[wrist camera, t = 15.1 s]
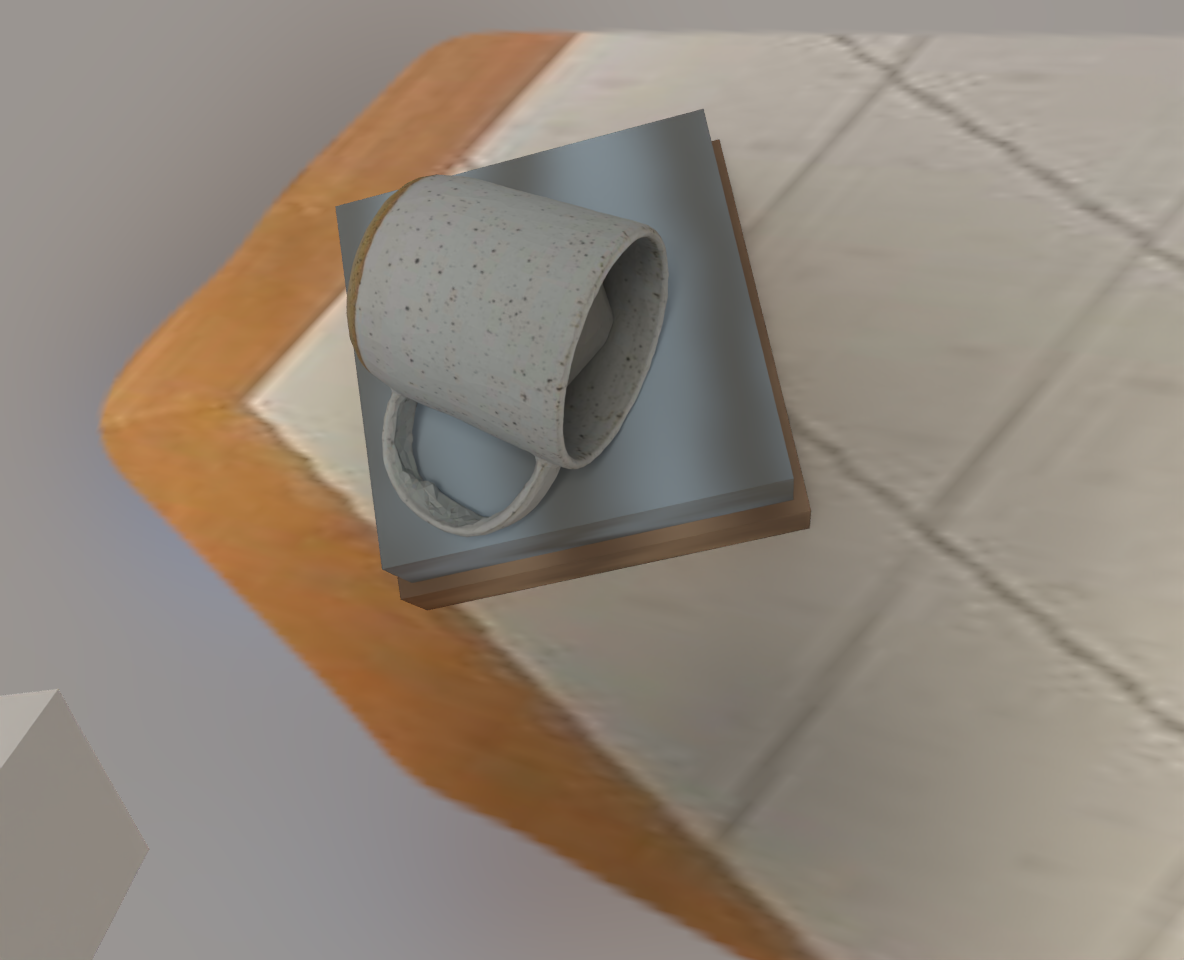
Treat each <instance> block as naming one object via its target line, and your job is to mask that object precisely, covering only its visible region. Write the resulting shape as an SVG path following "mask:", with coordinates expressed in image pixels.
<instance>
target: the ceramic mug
mask: <svg viewBox="0 0 1184 960" xmlns="http://www.w3.org/2000/svg"><path fill="white" fill-rule="evenodd" d="M668 277H669V272H668V261H667V254H666V247H665V244H664V242H663V240H662V238H661V236H660V235H659V234H658V232H657V231H656V230H654V229H653V228H652V227H650V226H649V225H646V224H643V223H640V222H637V221H633V220H629V219H625V218H621V217H617V216H613V215H610V214H605V213H601V212H597V211H594V210H591V209H587V208H584V207H580V206H576V205H573V204H569V203H565V202H561V201H557V200H553V199H550V198H547V197H543V196H538V195H534V194H530V193H527V192H523V191H519V190H515V189H511V188H507V187H504V186H501V185H498V184H494V183H491V182H487V181H484V180H480V179H476V178H471V177H465V176H447V175H432V176H426V177H421V178H418V179H415V180H413V181H411V182H409V183H407V184H405V185H404V186H403V187H402V188H400V189H399V190H398V191H396V192H395V193H394V194H393V195H391V196H390V197H389V198H388V199H387V200H386V201H385V202H384V203H383V205H382V206H381V208H380V209H379V211H378V212H377V214H376V215H375V217H374V218H373V220H372V221H371V223H370V224H369V226H368V227H367V229H366V231H365V233H364V236H363V238H362V240H361V242H360V245H359V247H358V249H357V252H356V255H355V258H354V262H353V265H352V270H351V275H350V280H349V286H348V292H347V320H348V327H349V335H350V339H351V342H352V344H353V347H354V349H355V352H356V354H357V357H358V359H359V360H360V362H361V363H362V365H363V366H364V367H365V368H366V369H367V370H368V371H369V372H370V373H372V374H373V375H374V376H376V377H377V378H378V379H380V380H381V381H382V382H383V383H385V384H386V385H387V386H389V387H390V388H391V390H392V395H391V398H390V400H389V402H388V403H387V409H386V413H385V416H384V425H383V431H382V447H383V460H384V465H385V468H386V471H387V473H388V476H389V478H390V481H391V483H392V485H393V487H394V488H395V490H396V492H397V494H398V495H399V497H400V499H401V500H402V501H403V502H404V503H405V504H406V505H407V506H408V507H409V508H410V509H411V510H412V511H413V512H414V513H415V514H416V515H417V516H418V517H420V518H421V519H423V520H424V521H426V522H428V523H430V524H431V525H433V526H435V527H437V528H439V529H440V530H442V531H444V532H448V533H452V534H455V535H459V536H464V537H471V536H479V535H487V534H489V533H492V532H494V531H497V530H500V529H502V528H505V527H507V526H510V525H512V524H513V523H515V522H517V521H519V520H520V519H522V518H523V517H525V516H526V515H527V514H528V513H530V512H531V511H532V510H533V509H534V508H535V507H536V506H537V505H538V503H539V502H540V501H541V500H542V498H543V497H544V496H545V495H546V493H547V491H548V490H549V488H550V487H551V485H552V483H553V482H554V480H555V479H556V477H557V475H558V472H559V470H560V467H563V468H567V469H579V468H582V467H584V466H586V465H587V464H589V463H591V462H592V461H593V460H594V459H595V458H596V457H597V456H599V455H600V454H601V453H602V451H603V450H604V449H605V448H606V447H607V446H608V445H609V443H610V442H611V441H612V440H613V438H614V437H615V436H616V434H617V433H618V431H619V430H620V428H621V426H622V424H623V422H624V420H625V418H626V416H627V414H628V412H629V411H630V409H631V408H632V406H633V404H634V403H635V401H636V399H637V397H638V394H639V392H640V389H641V387H642V384H643V382H644V380H645V377H646V375H647V372H648V370H649V368H650V365H651V361H652V357H653V356H654V354H655V350H656V346H657V343H658V337H659V334H660V331H661V328H662V324H663V319H664V313H665V308H666V303H667V298H668ZM417 403H420V404H422V405H425V406H427V407H429V408H432V409H434V410H437V411H440V412H443V413H445V414H448V415H450V416H453V417H455V418H457V419H460V420H461V421H463V422H465V423H467V424H470V425H472V426H474V427H476V428H478V429H480V430H482V431H484V432H486V433H488V434H490V435H492V436H494V437H496V438H499V439H501V440H503V441H505V442H507V443H510V444H512V445H514V446H516V447H518V448H520V449H522V450H525V451H528V452H530V453H531V454H533V455H534V456H535V459H536V465H535V469H534V472H533V474H532V476H531V478H530V480H529V481H528V482H527V483H526V484H525V486H524V488H523V489H522V491H521V492H520V493H519V494H518V495H517V497H516V498H515V499H514V500H513V502H512V503H511V504H510V505H509V506H508V507H506V508H505V509H504V510H503V511H501V512H498V513H496V514H494V515H492V516H491V517H484V516H481V515H479V514H477V513H475V512H473V511H471V510H470V509H468V508H466V507H464V506H462V505H461V504H459V503H457V502H455V501H453V500H451V499H450V498H448V497H447V496H446V495H444V494H443V493H442V492H440V490H439V489H438V488H437V486H436V485H435V483H432V482H429V481H423V479H422V477H421V476H420V474H419V472H418V469H417V466H416V463H415V459H414V455H413V447H412V443H413V435H412V429H413V424H414V416H415V411H416V407H417Z"/></svg>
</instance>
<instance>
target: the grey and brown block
mask: <svg viewBox="0 0 1184 960" xmlns="http://www.w3.org/2000/svg"><path fill="white" fill-rule="evenodd" d="M452 176H465V177H471V178H476V179H480V180H484V181H487V182H491V183H494V184H498V185H501V186H504V187H507V188H511V189H515V190H519V191H523V192H527V193H530V194H534V195H538V196H543V197H547V198H550V199H553V200H557V201H561V202H565V203H569V204H573V205H576V206H580V207H584V208H587V209H591V210H594V211H597V212H601V213H605V214H610V215H613V216H617V217H621V218H625V219H629V220H633V221H637V222H640V223H643V224H646V225H649V226H650V227H652V228H653V229H654V230H656V231H657V232H658V234H659V235H660V236H661V238H662V240H663V242H664V244H665V247H666V254H667V261H668V272H669V277H668V298H667V303H666V308H665V313H664V319H663V324H662V328H661V331H660V334H659V337H658V343H657V346H656V350H655V354H654V356H653V357H652V361H651V365H650V368H649V370H648V372H647V375H646V377H645V380H644V382H643V384H642V387H641V389H640V392H639V394H638V397H637V399H636V401H635V403H634V404H633V406H632V408H631V409H630V411H629V412H628V414H627V416H626V418H625V420H624V422H623V424H622V426H621V428H620V430H619V431H618V433H617V434H616V436H615V437H614V438H613V440H612V441H611V442H610V443H609V445H608V446H607V447H606V448H605V449H604V450H603V451H602V453H601V454H600V455H599V456H597V457H596V458H595V459H594V460H593V461H592V462H591V463H589V464H587V465H586V466H584V467H582V468H579V469H567V468H563V467H560V470H559V472H558V475H557V477H556V479H555V480H554V482H553V483H552V485H551V487H550V488H549V490H548V491H547V493H546V495H545V496H544V497H543V498H542V500H541V501H540V502H539V503H538V505H537V506H536V507H535V508H534V509H533V510H532V511H531V512H530V513H528V514H527V515H526V516H525V517H523V518H522V519H520V520H519V521H517V522H515V523H513V524H512V525H510V526H507V527H505V528H502V529H500V530H497V531H494V532H492V533H489V534H487V535H479V536H471V537H464V536H459V535H455V534H452V533H448V532H444V531H442V530H440V529H439V528H437V527H435V526H433V525H431V524H430V523H428V522H426V521H424V520H423V519H421V518H420V517H418V516H417V515H416V514H415V513H414V512H413V511H412V510H411V509H410V508H409V507H408V506H407V505H406V504H405V503H404V502H403V501H402V500H401V499H400V497H399V495H398V494H397V492H396V490H395V488H394V487H393V485H392V483H391V481H390V478H389V476H388V473H387V471H386V468H385V465H384V460H383V447H382V431H383V425H384V416H385V413H386V409H387V403H388V402H389V400H390V398H391V395H392V390H391V388H390V387H389V386H387V385H386V384H385V383H383V382H382V381H381V380H380V379H378V378H377V377H376V376H374V375H373V374H372V373H370V372H369V371H368V370H367V369H366V368H365V367H364V366H363V365H362V363H361V362H360V360H359V359H358V357H357V354H356V352H355V349H354V354H355V362H356V370H357V378H358V385H359V393H360V401H361V409H362V416H363V424H364V432H365V440H366V448H367V455H368V463H369V471H370V479H371V486H372V494H373V502H374V510H375V518H376V525H377V533H378V541H379V549H380V557H381V564H382V569H383V570H385V571H387V572H389V573H391V574H393V575H396V576H398V583H399V590H400V598H401V600H404V601H406V602H408V603H411V604H413V605H416V606H418V607H421V608H423V609H426V610H430V609H435V608H440V607H444V606H449V605H454V604H458V603H463V602H468V601H472V600H477V599H482V598H486V597H491V596H496V595H500V594H505V593H509V592H514V591H519V590H523V589H528V588H533V587H537V586H542V585H547V584H551V583H556V582H561V581H565V580H570V579H575V578H579V577H584V576H589V575H593V574H598V573H603V572H607V571H612V570H617V569H621V568H626V567H631V566H635V565H640V564H645V563H649V562H654V561H659V560H663V559H668V558H672V557H677V556H682V555H686V554H691V553H696V552H700V551H705V550H710V549H714V548H719V547H724V546H728V545H733V544H738V543H742V542H747V541H752V540H756V539H761V538H766V537H770V536H775V535H780V534H784V533H789V532H794V531H798V530H803V529H808V528H809V527H810V516H811V508H810V504H809V500H808V496H807V492H806V488H805V484H804V480H803V476H802V472H801V468H800V464H799V460H798V456H797V452H796V448H795V444H794V440H793V436H792V431H791V427H790V423H789V419H788V415H787V411H786V407H785V403H784V399H783V395H782V391H781V387H780V383H779V379H778V375H777V371H776V367H775V363H774V359H773V355H772V351H771V346H770V342H769V338H768V334H767V330H766V326H765V322H764V318H763V314H762V310H761V306H760V302H759V298H758V294H757V290H756V286H755V282H754V278H753V274H752V270H751V265H750V261H749V257H748V253H747V249H746V245H745V241H744V237H743V233H742V229H741V225H740V221H739V217H738V213H737V209H736V205H735V201H734V197H733V193H732V189H731V185H730V180H729V176H728V172H727V168H726V164H725V160H724V156H723V152H722V148H721V144H720V140H715V141H711V138H710V134H709V130H708V126H707V122H706V117H705V113H704V109H701V110H697V111H693V112H690V113H686V114H682V115H678V116H675V117H671V118H667V119H663V120H660V121H656V122H652V123H648V124H645V125H641V126H637V127H633V128H629V129H626V130H622V131H618V132H614V133H611V134H607V135H603V136H599V137H596V138H592V139H588V140H584V141H580V142H577V143H573V144H569V145H565V146H562V147H558V148H554V149H550V150H547V151H543V152H539V153H535V154H532V155H528V156H524V157H520V158H516V159H513V160H509V161H505V162H501V163H498V164H494V165H490V166H486V167H483V168H479V169H475V170H471V171H467V172H464V173H460V174H456V175H452ZM396 191H398V190H396ZM396 191H392V192H388V193H385V194H381V195H377V196H373V197H370V198H366V199H362V200H358V201H354V202H351V203H347V204H343V205H339V206H336V214H337V222H338V230H339V237H340V245H341V253H342V261H343V269H344V276H345V284H346V292H348V286H349V280H350V275H351V270H352V265H353V262H354V258H355V255H356V252H357V249H358V247H359V245H360V242H361V240H362V238H363V236H364V233H365V231H366V229H367V227H368V226H369V224H370V223H371V221H372V220H373V218H374V217H375V215H376V214H377V212H378V211H379V209H380V208H381V206H382V205H383V203H384V202H385V201H386V200H387V199H388V198H389V197H390V196H391V195H393V194H394V193H395V192H396ZM412 435H413V443H412V447H413V455H414V459H415V463H416V466H417V469H418V472H419V474H420V476H421V477H422V479H423V481H429V482H432V483H435V485H436V486H437V488H438V489H439V490H440V492H442V493H443V494H444V495H446V496H447V497H448V498H450V499H451V500H453V501H455V502H457V503H459V504H461V505H462V506H464V507H466V508H468V509H470V510H471V511H473V512H475V513H477V514H479V515H481V516H484V517H491V516H492V515H494V514H496V513H498V512H501V511H503V510H504V509H505V508H506V507H508V506H509V505H510V504H511V503H512V502H513V500H514V499H515V498H516V497H517V495H518V494H519V493H520V492H521V491H522V489H523V488H524V486H525V484H526V483H527V482H528V481H529V480H530V478H531V476H532V474H533V472H534V469H535V465H536V459H535V456H534V455H533V454H531V453H530V452H528V451H525V450H522V449H520V448H518V447H516V446H514V445H512V444H510V443H507V442H505V441H503V440H501V439H499V438H496V437H494V436H492V435H490V434H488V433H486V432H484V431H482V430H480V429H478V428H476V427H474V426H472V425H470V424H467V423H465V422H463V421H461V420H460V419H457V418H455V417H453V416H450V415H448V414H445V413H443V412H440V411H437V410H434V409H432V408H429V407H427V406H425V405H422V404H420V403H417V407H416V411H415V416H414V424H413V429H412Z"/></svg>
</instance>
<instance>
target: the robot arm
mask: <svg viewBox="0 0 1184 960" xmlns="http://www.w3.org/2000/svg"><path fill="white" fill-rule="evenodd" d="M148 851H149V848H148V846H147V844H146V842H145V841H144V839H143V837H142V835H141V834H140V832H139V830H138V828H137V826H136V825H135V823H134V821H133V820H132V818H131V816H130V814H129V812H128V811H127V809H126V807H125V806H124V804H123V802H122V800H121V798H120V797H119V795H118V793H117V791H116V790H115V788H114V786H113V784H112V782H111V781H110V779H109V777H108V775H107V774H106V772H105V770H104V768H103V767H102V765H101V763H100V762H99V760H98V758H97V756H96V755H95V753H94V751H93V749H92V747H91V746H90V744H89V742H88V740H87V738H86V737H85V735H84V733H83V732H82V730H81V728H80V726H79V724H78V723H77V721H76V719H75V718H74V716H73V714H72V712H71V710H70V709H69V707H68V705H67V703H66V702H65V700H64V698H63V697H62V694H61V693H60V691H59V689H53V690H45V691H37V692H28V693H19V694H11V695H2V696H0V960H92V959H93V957H94V956H95V953H96V952H97V950H98V948H99V946H100V944H101V942H102V940H103V938H104V936H105V934H106V932H107V930H108V928H109V926H110V924H111V922H112V921H113V919H114V917H115V915H116V913H117V911H118V909H119V907H120V905H121V903H122V901H123V899H124V897H125V895H126V894H127V891H128V890H129V888H130V886H131V884H132V882H133V880H134V878H135V876H136V874H137V872H138V870H139V868H140V866H141V864H142V863H143V860H144V859H145V856H146V855H147V853H148Z"/></svg>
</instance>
